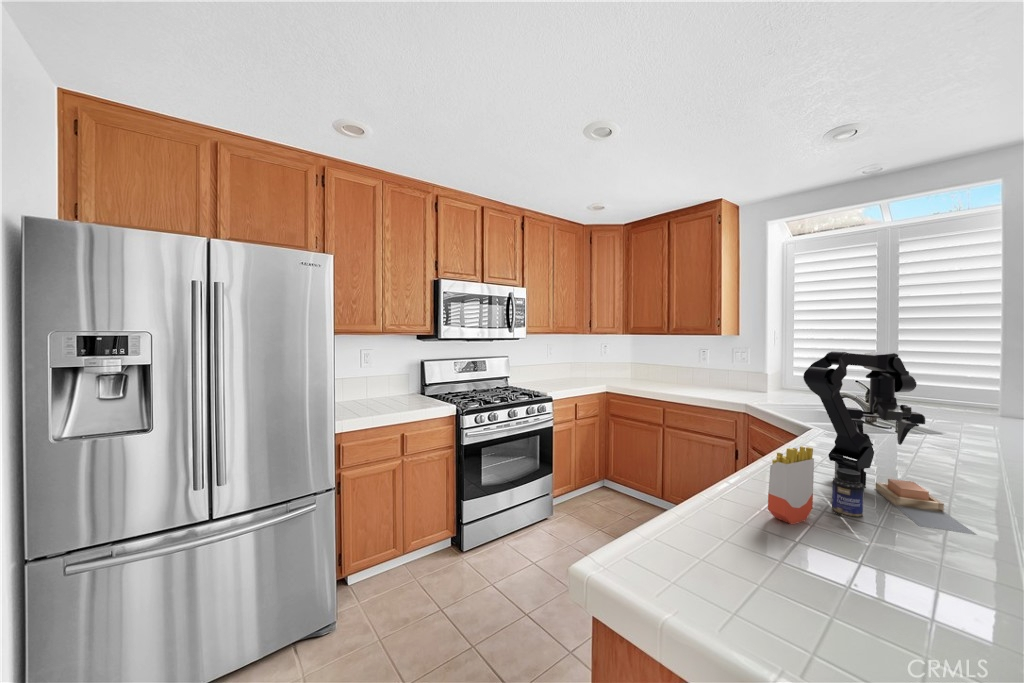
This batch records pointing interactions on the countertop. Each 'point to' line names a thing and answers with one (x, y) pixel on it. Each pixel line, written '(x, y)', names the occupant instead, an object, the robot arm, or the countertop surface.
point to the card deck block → (907, 489)
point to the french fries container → (791, 485)
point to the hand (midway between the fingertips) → (880, 442)
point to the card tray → (910, 500)
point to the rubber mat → (933, 519)
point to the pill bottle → (847, 493)
